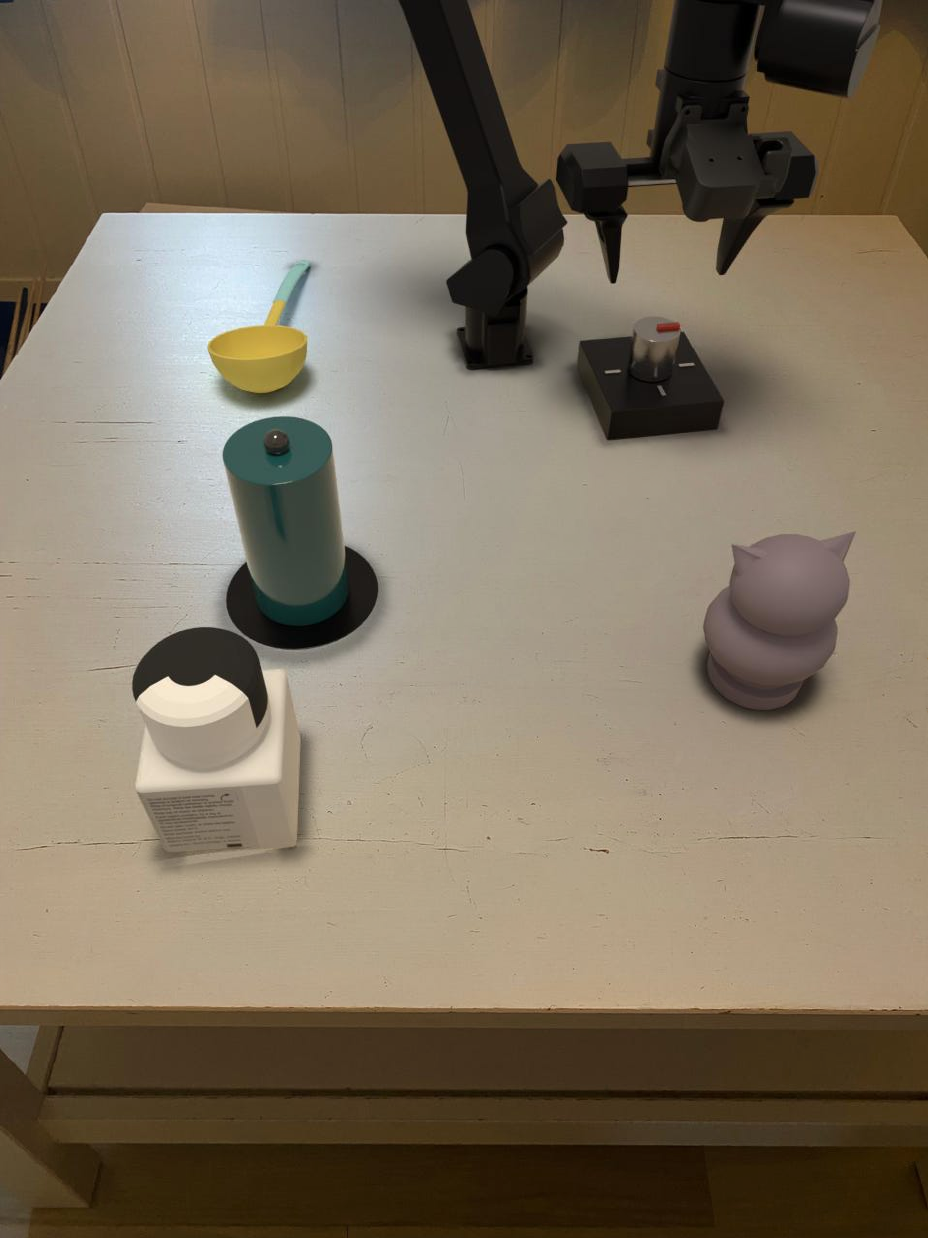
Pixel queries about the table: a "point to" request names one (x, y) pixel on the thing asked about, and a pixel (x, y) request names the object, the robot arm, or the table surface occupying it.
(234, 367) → the ladle
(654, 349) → the knob
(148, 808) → the container
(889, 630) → the table surface
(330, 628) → the disc
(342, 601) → the teal lidded canister
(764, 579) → the cat figurine
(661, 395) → the panel
